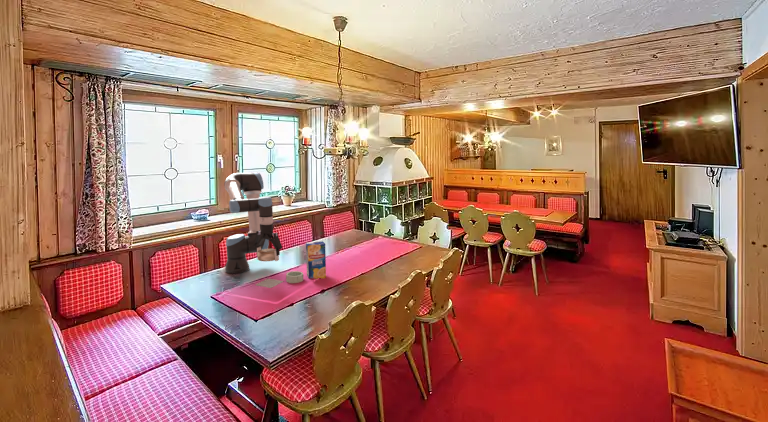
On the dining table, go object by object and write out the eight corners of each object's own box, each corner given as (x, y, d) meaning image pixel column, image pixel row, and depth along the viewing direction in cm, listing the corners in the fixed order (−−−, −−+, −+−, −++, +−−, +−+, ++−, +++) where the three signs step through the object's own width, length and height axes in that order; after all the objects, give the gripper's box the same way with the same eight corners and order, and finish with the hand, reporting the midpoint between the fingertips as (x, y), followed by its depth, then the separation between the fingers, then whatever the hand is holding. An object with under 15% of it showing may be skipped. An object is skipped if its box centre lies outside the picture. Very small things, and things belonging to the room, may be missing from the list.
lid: (253, 259, 226) (252, 252, 226) (266, 254, 237) (266, 247, 236) (270, 262, 222) (269, 255, 221) (282, 256, 233) (282, 249, 232)
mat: (254, 286, 229) (254, 285, 229) (267, 280, 240) (267, 278, 240) (271, 289, 225) (271, 287, 224) (283, 282, 236) (283, 281, 235)
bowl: (283, 283, 234) (283, 275, 233) (291, 278, 243) (291, 270, 243) (298, 285, 231) (298, 277, 231) (305, 280, 241) (305, 272, 240)
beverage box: (306, 276, 247) (305, 242, 243) (323, 274, 251) (323, 241, 247) (308, 280, 240) (307, 245, 237) (326, 277, 244) (325, 244, 240)
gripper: (245, 222, 227) (247, 258, 231) (279, 226, 218) (281, 263, 222) (254, 220, 234) (255, 255, 238) (287, 224, 225) (289, 259, 229)
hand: (268, 259), depth 230 cm, fingers closed on lid, 12 cm apart
